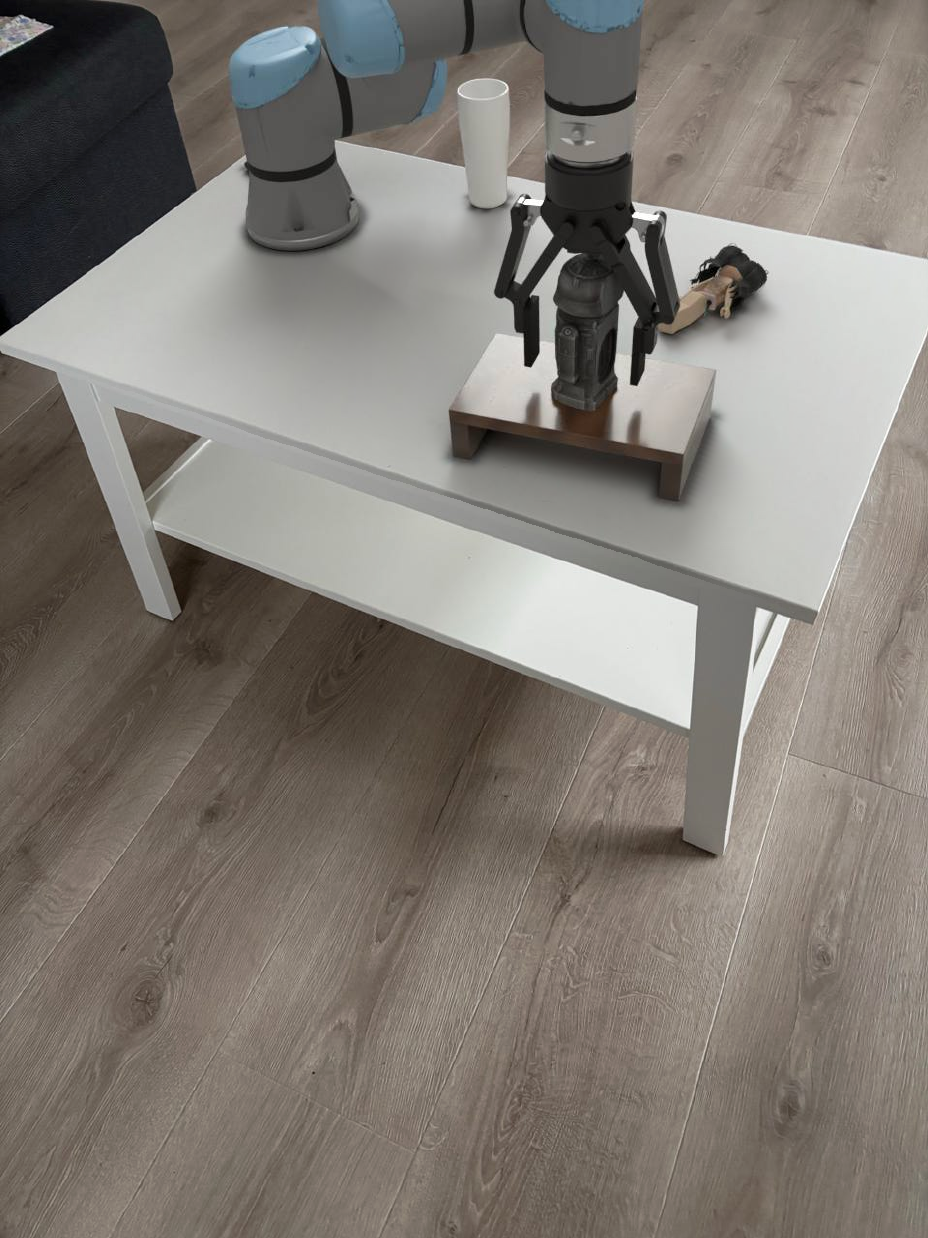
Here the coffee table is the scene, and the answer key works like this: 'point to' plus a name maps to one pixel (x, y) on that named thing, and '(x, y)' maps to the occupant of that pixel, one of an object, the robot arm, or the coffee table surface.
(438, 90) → the robot arm
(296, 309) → the coffee table surface
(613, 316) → the toy
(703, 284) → the toy figure
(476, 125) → the drinking glass
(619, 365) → the shelf
